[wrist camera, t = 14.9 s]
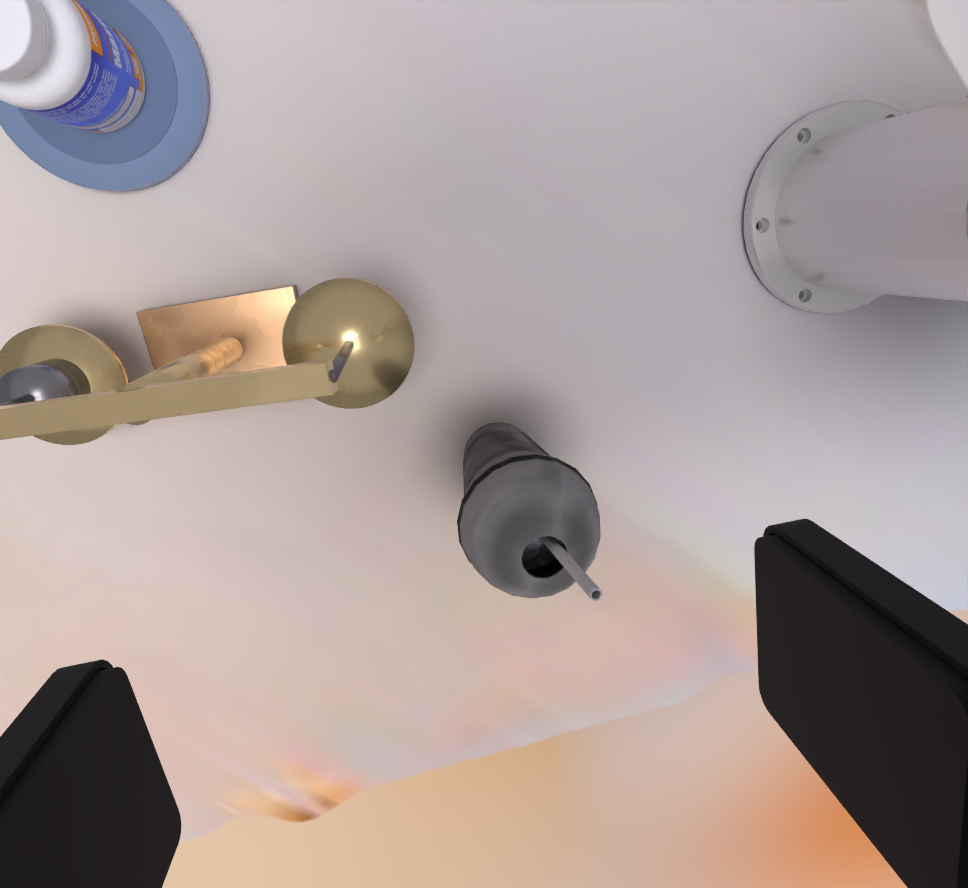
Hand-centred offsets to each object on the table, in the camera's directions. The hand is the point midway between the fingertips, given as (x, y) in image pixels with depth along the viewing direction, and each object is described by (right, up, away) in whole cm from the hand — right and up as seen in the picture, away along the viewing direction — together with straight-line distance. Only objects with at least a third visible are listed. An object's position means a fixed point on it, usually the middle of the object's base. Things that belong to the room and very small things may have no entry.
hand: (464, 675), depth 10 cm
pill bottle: (-20, +23, +25) cm, 39 cm away
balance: (-15, +9, +30) cm, 35 cm away
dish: (-20, +23, +26) cm, 40 cm away
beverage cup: (+1, +3, +35) cm, 35 cm away
